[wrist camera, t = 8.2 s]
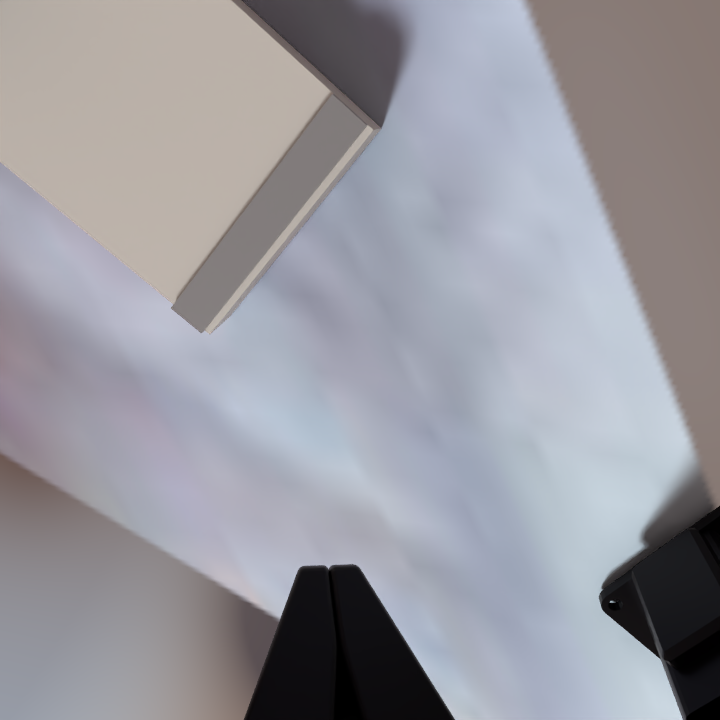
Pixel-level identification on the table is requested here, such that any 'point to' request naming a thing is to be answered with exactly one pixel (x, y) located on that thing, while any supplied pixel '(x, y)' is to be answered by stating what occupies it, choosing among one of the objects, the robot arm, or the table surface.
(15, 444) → the table surface
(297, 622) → the robot arm
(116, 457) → the table surface
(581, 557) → the table surface
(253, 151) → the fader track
